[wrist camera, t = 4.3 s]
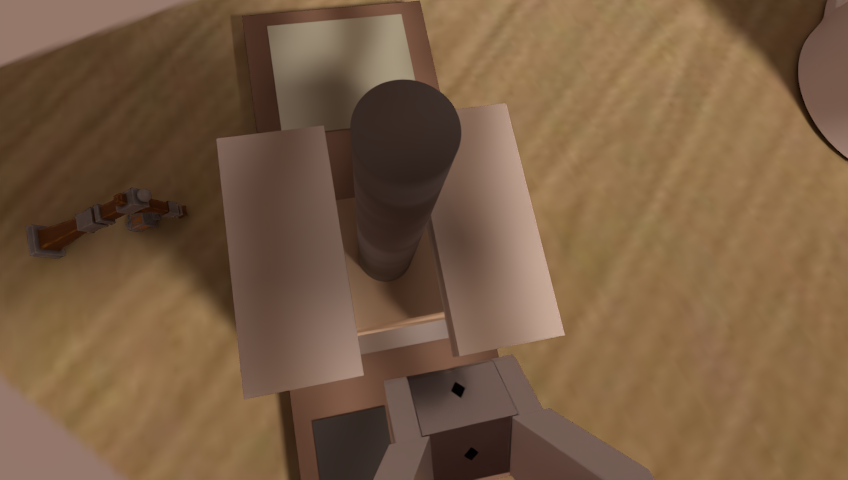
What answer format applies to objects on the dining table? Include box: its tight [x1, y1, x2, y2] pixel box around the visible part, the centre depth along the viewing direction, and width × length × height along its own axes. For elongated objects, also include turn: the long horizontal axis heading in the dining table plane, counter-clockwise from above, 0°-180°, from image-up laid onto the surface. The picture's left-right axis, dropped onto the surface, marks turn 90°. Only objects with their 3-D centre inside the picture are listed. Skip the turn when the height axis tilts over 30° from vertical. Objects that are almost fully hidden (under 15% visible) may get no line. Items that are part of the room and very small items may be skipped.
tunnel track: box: [216, 1, 565, 480], centre depth 26 cm, size 12×31×12 cm, turn 11°
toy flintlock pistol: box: [26, 188, 187, 259], centre depth 29 cm, size 2×8×4 cm, turn 107°
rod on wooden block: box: [336, 79, 461, 355], centre depth 20 cm, size 7×8×19 cm
